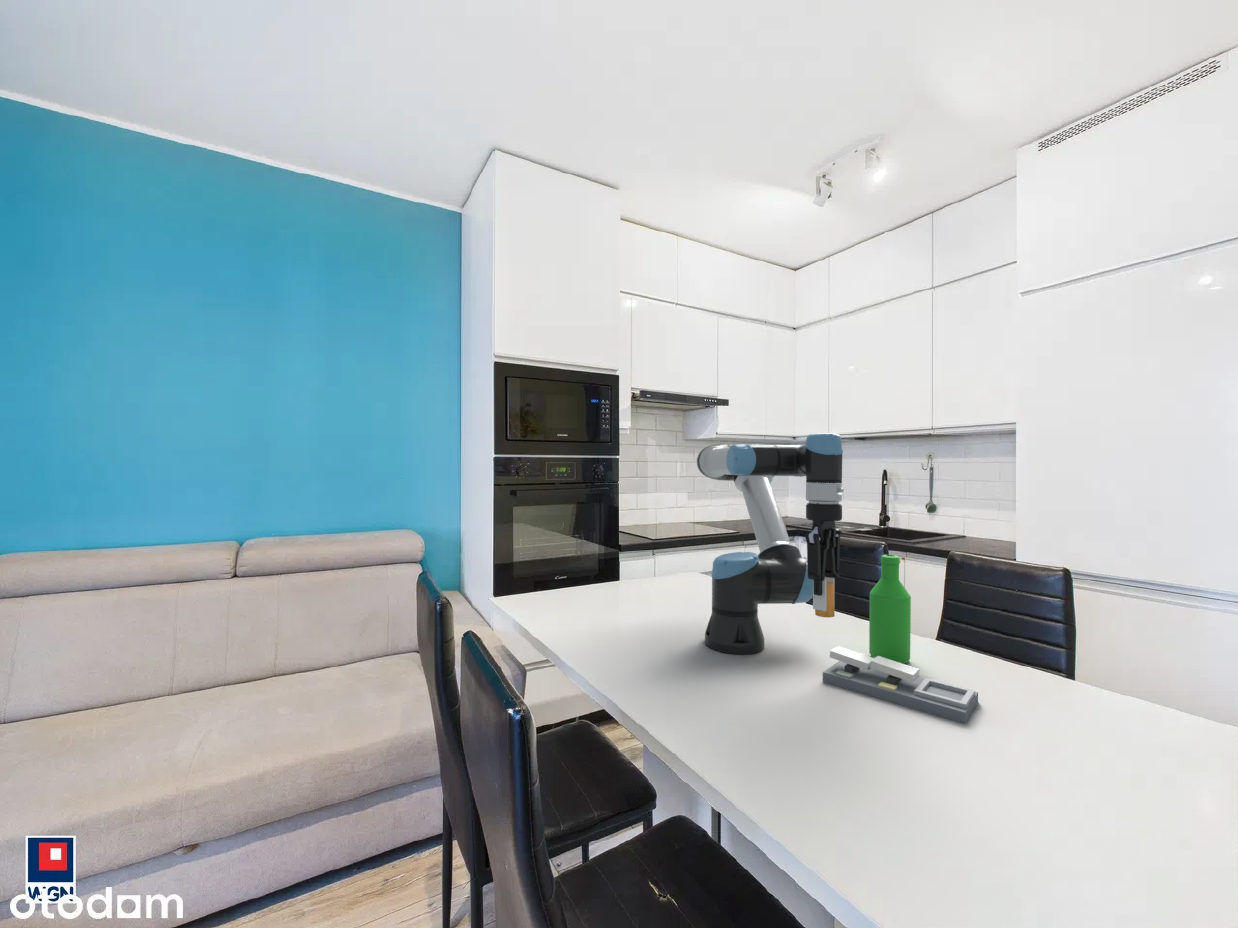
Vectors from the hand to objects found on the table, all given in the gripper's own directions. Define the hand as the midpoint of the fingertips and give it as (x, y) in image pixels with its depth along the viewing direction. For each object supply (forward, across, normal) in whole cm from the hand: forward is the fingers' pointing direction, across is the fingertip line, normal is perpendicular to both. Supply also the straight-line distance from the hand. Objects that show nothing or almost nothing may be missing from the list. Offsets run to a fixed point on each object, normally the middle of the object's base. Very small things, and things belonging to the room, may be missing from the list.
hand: (823, 607), depth 116 cm
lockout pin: (+2, 0, 0) cm, 2 cm away
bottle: (+15, +22, -7) cm, 27 cm away
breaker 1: (+10, +2, -5) cm, 12 cm away
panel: (+15, +3, -14) cm, 21 cm away
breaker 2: (+10, +3, -14) cm, 17 cm away
